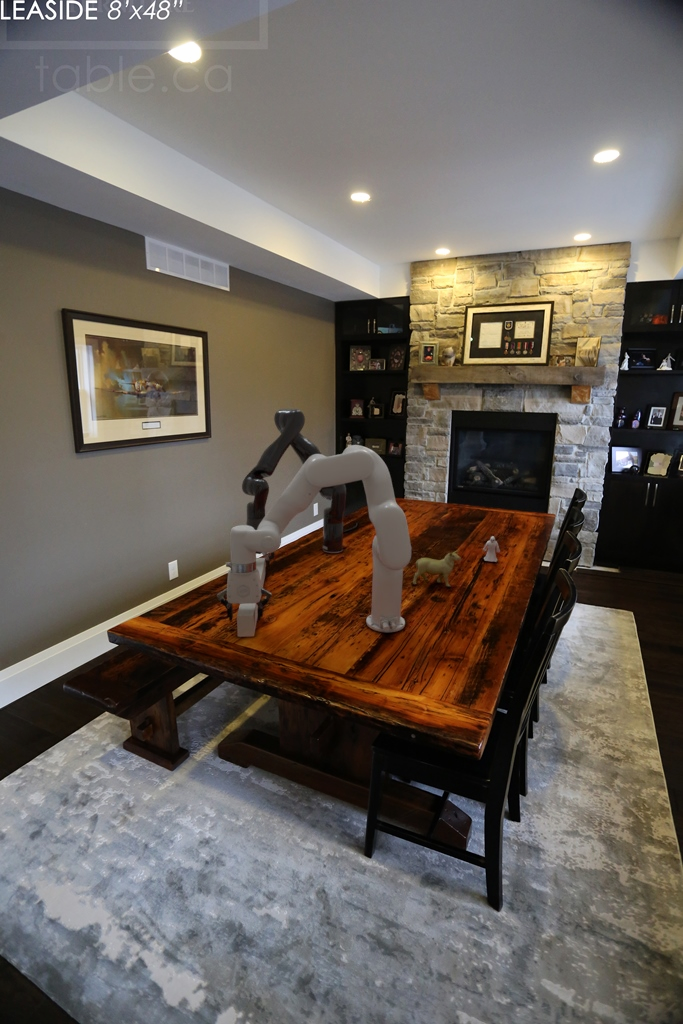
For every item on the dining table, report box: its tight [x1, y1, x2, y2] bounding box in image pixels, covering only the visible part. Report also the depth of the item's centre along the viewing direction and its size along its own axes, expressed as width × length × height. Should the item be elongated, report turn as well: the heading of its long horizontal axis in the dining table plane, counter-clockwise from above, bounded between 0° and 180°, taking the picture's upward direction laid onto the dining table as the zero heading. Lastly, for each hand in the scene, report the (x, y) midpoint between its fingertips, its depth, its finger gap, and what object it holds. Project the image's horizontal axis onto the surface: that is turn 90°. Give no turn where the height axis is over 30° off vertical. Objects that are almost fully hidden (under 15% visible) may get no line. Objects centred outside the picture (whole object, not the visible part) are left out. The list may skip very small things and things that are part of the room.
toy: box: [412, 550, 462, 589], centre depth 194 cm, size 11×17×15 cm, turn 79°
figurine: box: [482, 535, 501, 563], centre depth 223 cm, size 8×8×12 cm
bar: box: [236, 557, 266, 638], centre depth 177 cm, size 52×5×7 cm, turn 5°
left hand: (257, 568), depth 198 cm, fingers open, 7 cm apart
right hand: (245, 618), depth 156 cm, fingers open, 8 cm apart
